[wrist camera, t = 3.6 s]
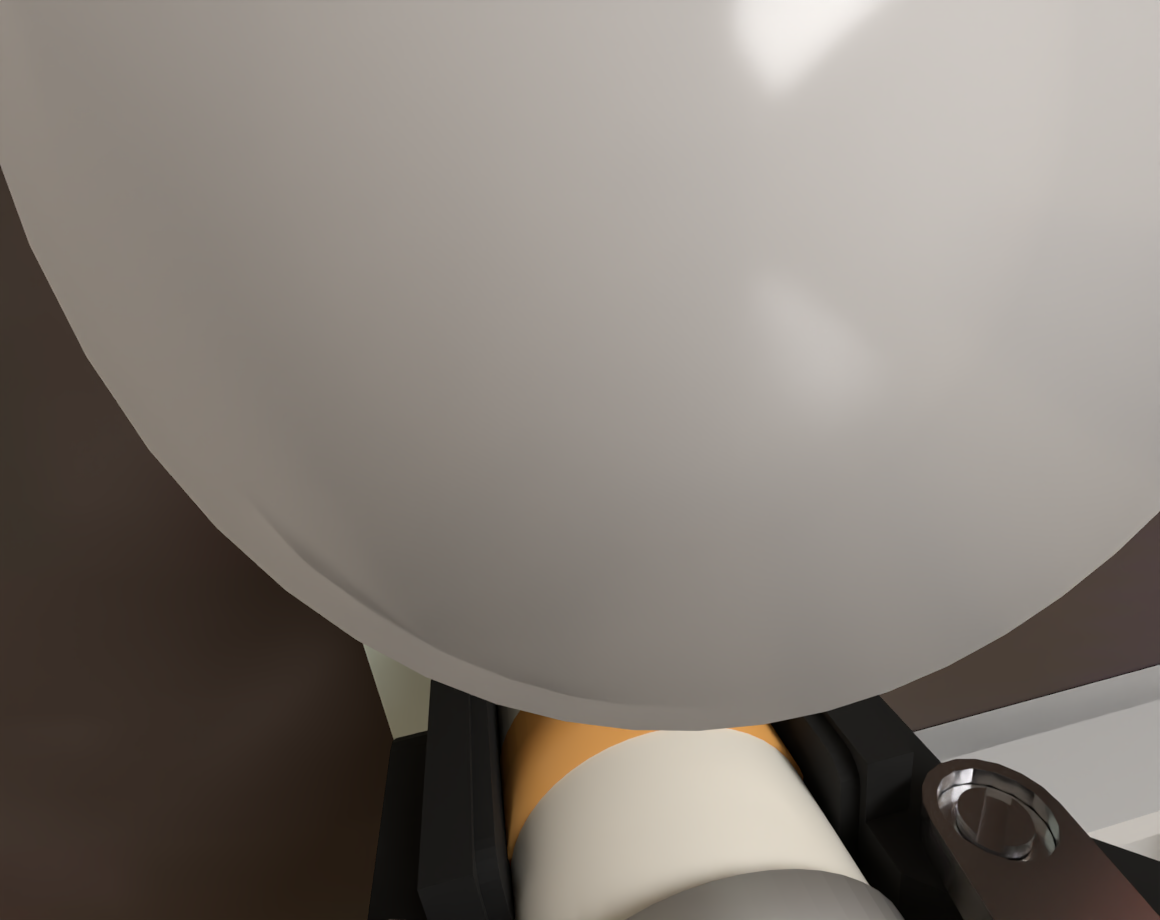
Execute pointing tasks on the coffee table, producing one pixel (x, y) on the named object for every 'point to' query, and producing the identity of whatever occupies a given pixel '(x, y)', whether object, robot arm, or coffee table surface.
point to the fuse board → (400, 694)
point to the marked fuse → (669, 827)
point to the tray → (1078, 753)
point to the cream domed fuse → (621, 319)
